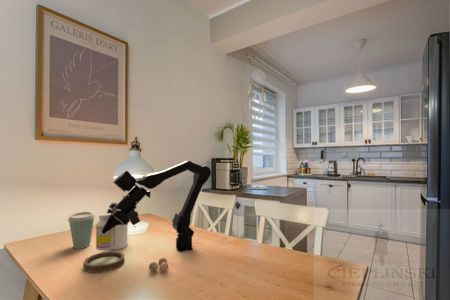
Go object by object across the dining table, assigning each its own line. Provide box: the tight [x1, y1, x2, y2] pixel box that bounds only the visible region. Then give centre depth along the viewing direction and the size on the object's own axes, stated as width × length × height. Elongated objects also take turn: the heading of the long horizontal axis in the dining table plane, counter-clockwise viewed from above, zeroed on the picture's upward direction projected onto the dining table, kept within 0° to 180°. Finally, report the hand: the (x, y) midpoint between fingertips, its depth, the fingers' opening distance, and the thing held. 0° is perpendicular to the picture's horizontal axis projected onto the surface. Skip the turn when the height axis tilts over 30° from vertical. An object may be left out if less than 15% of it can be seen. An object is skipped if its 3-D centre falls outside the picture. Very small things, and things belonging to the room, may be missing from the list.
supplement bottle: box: [95, 212, 115, 251], centre depth 92 cm, size 7×7×13 cm
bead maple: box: [148, 261, 159, 273], centre depth 86 cm, size 3×3×3 cm
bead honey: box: [157, 257, 168, 267], centre depth 90 cm, size 3×3×3 cm
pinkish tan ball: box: [158, 262, 169, 273], centre depth 86 cm, size 3×3×3 cm
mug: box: [110, 223, 129, 250], centre depth 109 cm, size 12×8×12 cm
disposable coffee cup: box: [67, 211, 95, 250], centre depth 110 cm, size 11×11×15 cm
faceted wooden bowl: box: [82, 250, 125, 274], centre depth 92 cm, size 14×14×2 cm
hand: (101, 230), depth 91 cm, fingers closed on supplement bottle, 6 cm apart
